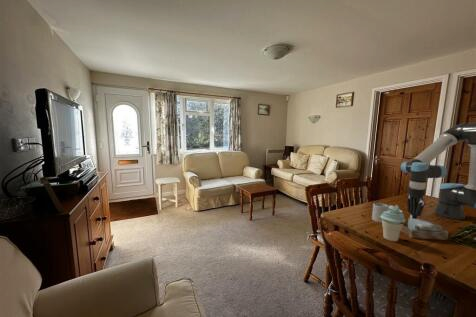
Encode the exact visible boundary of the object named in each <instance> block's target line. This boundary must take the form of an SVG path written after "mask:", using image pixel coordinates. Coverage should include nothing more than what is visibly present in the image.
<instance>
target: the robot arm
mask: <svg viewBox="0 0 476 317" xmlns="http://www.w3.org/2000/svg"><path fill="white" fill-rule="evenodd" d="M460 142H467V146H469V147H470V154H469V155H470V157H469V168H468V169H469V170H468V180H467V181H468V182H467V184H463V183H452V182H449V183H448V182H445V183H444V182H443V183H441V184H440V187H439V194H438V201H437V202H438V203H437V204H436V206H435V208H433V213H434V214H435V215H437V216H439V217H441V218H442V217H443V218H445V219H452V220H458V221H459V220H465V217H466V215H465V211H464V208H463V206H466V207H468V208H469V207H470V208H473V209H475V210H476V122H463V123H459V124H456V125H455V126H452V127H450V128H448V129H447V130H445V131H443V132H442V133H441V134H440V135H439V137H438V138H437V139H436V140H435V141H434V142H433V143H431V144H430V145H429V146H428V147H426V148H425V149H424V150H423V151H421V152H420V153H419V154H417V155H416V156H415V157H414V158H412V160H410V161H403V162H401V165H400V170H401V171H402V172H404V173H406V174H410V178H409V184H408V190H407V193H408V194H409V195H406V196H405V198H406V204H407V205H406V206H407V207H406V208H407V212H409V219H417V218H418V217H421V215H422V214H423V213H422V212H423V210H424V207H425V206H426V205H427V204H426V202H424V201H423V200H424V199H423V197H425V195H426V188H427V180H428V179H439V178H444V177H445V176H447V173H448V170H447V168H446V167H445V166H444V165H439V164H434V165H433V164H430V163H431V162H432V161H433V160H435V159H436V158H437V157H439V156H440V155H441V154H443V153H444V152H445V151H446V150H448V148H449V147H451V146H454V145H456V144H458V143H460Z"/></svg>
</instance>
